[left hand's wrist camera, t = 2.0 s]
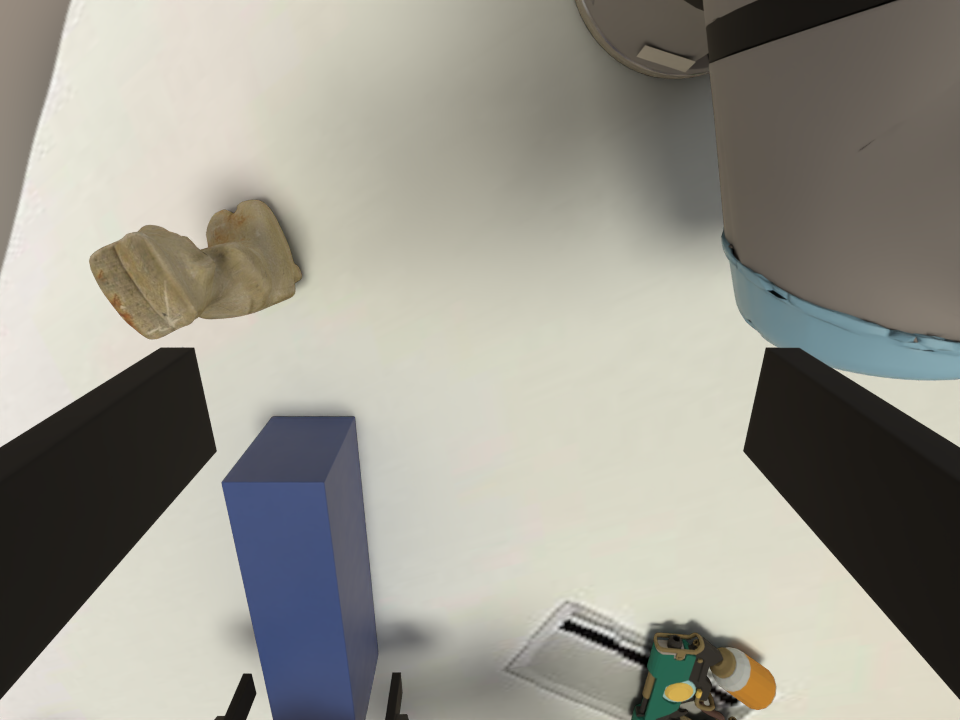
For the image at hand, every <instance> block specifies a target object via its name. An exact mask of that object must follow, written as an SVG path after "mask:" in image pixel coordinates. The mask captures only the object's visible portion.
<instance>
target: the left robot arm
mask: <svg viewBox="0 0 960 720" xmlns="http://www.w3.org/2000/svg"><path fill="white" fill-rule="evenodd" d="M575 2H576V5H577V7H578V10H579V12H580V15H581V17H582V19H583V20H584V22H585V24H586V26H587V28H588V29H589V31H590V32H591V34H592V35H593V37H594V38H595V39H596V41H597V42H598V43H599V44H600V45H601V47H602V48H603V49H604V50H606V51H607V52H608V53H609V54H610V55H611V56H612V57H613V58H615V59H616V60H617V61H619V62H620V63H622V64H623V65H625V66H627V67H628V68H630V69H633V70H635V71H637V72H639V73H642V74H645V75H648V76H653V77H658V78H667V79H683V78H690V77H696V76H700V75H704V74H707V73H710V81H711V91H712V101H713V110H714V120H715V132H716V143H717V154H718V165H719V177H720V188H721V199H722V210H723V222H724V229H723V233H722V236H721V238H722V246H723V250H724V252H725V254H726V257H727V258H728V259H729V262H730V268H731V275H732V281H733V288H734V294H735V300H736V304H737V306H738V309H739V311H740V313H741V315H742V316H743V318H744V319H745V321H746V322H747V323H748V324H749V325H750V326H752V327H753V328H754V329H755V330H757V331H758V332H759V333H760V334H761V336H762V337H763V338H764V339H765V340H767V341H768V342H770V343H771V344H773V345H775V346H777V347H778V348H766V349H765V354H764V358H763V363H762V368H761V372H760V377H759V381H758V386H757V391H756V395H755V400H754V404H753V409H752V413H751V418H750V423H749V427H748V432H747V436H746V441H745V445H744V450H743V451H744V453H745V454H746V455H747V456H748V457H749V458H750V460H751V461H752V462H753V463H754V464H755V465H756V466H757V468H758V469H759V470H760V471H761V472H762V473H763V474H764V476H765V477H766V478H767V479H768V480H769V481H770V482H771V484H772V485H773V486H774V487H775V488H776V489H777V490H778V492H779V493H780V494H781V495H782V496H783V497H784V499H785V500H786V501H787V502H788V503H789V504H790V505H791V507H792V508H793V509H794V510H795V511H796V512H797V513H798V515H799V516H800V517H801V518H802V519H803V520H804V521H805V523H806V524H807V525H808V526H809V527H810V528H811V530H812V531H813V532H814V533H815V534H816V535H817V536H818V538H819V539H820V540H821V541H822V542H823V543H824V544H825V546H826V547H827V548H828V549H829V550H830V551H831V552H832V554H833V555H834V556H835V557H836V558H837V559H838V560H839V562H840V563H841V564H842V565H843V566H844V567H845V569H846V570H847V571H848V572H849V573H850V574H851V575H852V577H853V578H854V579H855V580H856V581H857V582H858V583H859V585H860V586H861V587H862V588H863V589H864V590H865V591H866V593H867V594H868V595H869V596H870V597H871V598H872V600H873V601H874V602H875V603H876V604H877V605H878V606H879V608H880V609H881V610H882V611H883V612H884V613H885V614H886V616H887V617H888V618H889V619H890V620H891V621H892V622H893V624H894V625H895V626H896V627H897V628H898V629H899V631H900V632H901V633H902V634H903V635H904V636H905V637H906V639H907V640H908V641H909V642H910V643H911V644H912V645H913V647H914V648H915V649H916V650H917V651H918V652H919V653H920V655H921V656H922V657H923V658H924V659H925V660H926V661H927V663H928V664H929V665H930V666H931V667H932V668H933V670H934V671H935V672H936V673H937V674H938V675H939V676H940V678H941V679H942V680H943V681H944V682H945V683H946V684H947V686H948V687H949V688H950V689H951V690H952V691H953V692H954V694H955V695H956V696H957V697H958V698H959V699H960V447H958V446H957V445H955V444H953V443H952V442H950V441H949V440H947V439H945V438H944V437H942V436H940V435H939V434H937V433H936V432H934V431H932V430H931V429H929V428H928V427H926V426H924V425H923V424H921V423H920V422H918V421H916V420H915V419H913V418H912V417H910V416H908V415H907V414H905V413H904V412H902V411H900V410H899V409H897V408H895V407H894V406H892V405H891V404H889V403H887V402H886V401H884V400H883V399H881V398H879V397H878V396H876V395H875V394H873V393H871V392H870V391H868V390H867V389H865V388H863V387H862V386H860V385H858V384H857V383H855V382H854V381H852V380H850V379H849V378H847V377H846V376H844V375H842V374H841V373H839V372H838V371H836V370H834V369H833V368H835V369H839V370H844V371H848V372H853V373H858V374H864V375H870V376H877V377H885V378H894V379H906V380H957V379H960V0H575ZM216 451H217V450H216V445H215V441H214V436H213V432H212V427H211V423H210V418H209V413H208V409H207V404H206V400H205V395H204V391H203V386H202V381H201V377H200V372H199V368H198V363H197V358H196V354H195V349H194V348H159V349H158V350H156V351H155V352H153V353H151V354H150V355H148V356H147V357H145V358H143V359H142V360H140V361H138V362H137V363H135V364H134V365H132V366H130V367H129V368H127V369H126V370H124V371H122V372H121V373H119V374H118V375H116V376H114V377H113V378H111V379H110V380H108V381H106V382H105V383H103V384H102V385H100V386H98V387H97V388H95V389H93V390H92V391H90V392H89V393H87V394H85V395H84V396H82V397H81V398H79V399H77V400H76V401H74V402H73V403H71V404H69V405H68V406H66V407H65V408H63V409H61V410H60V411H58V412H56V413H55V414H53V415H52V416H50V417H48V418H47V419H45V420H44V421H42V422H40V423H39V424H37V425H36V426H34V427H32V428H31V429H29V430H28V431H26V432H24V433H23V434H21V435H20V436H18V437H16V438H15V439H13V440H11V441H10V442H8V443H7V444H5V445H3V446H2V447H0V699H1V698H2V697H3V696H4V695H5V694H6V692H7V691H8V690H9V689H10V688H11V687H12V686H13V684H14V683H15V682H16V681H17V680H18V679H19V678H20V676H21V675H22V674H23V673H24V672H25V671H26V670H27V668H28V667H29V666H30V665H31V664H32V663H33V661H34V660H35V659H36V658H37V657H38V656H39V655H40V653H41V652H42V651H43V650H44V649H45V648H46V647H47V645H48V644H49V643H50V642H51V641H52V640H53V639H54V637H55V636H56V635H57V634H58V633H59V632H60V630H61V629H62V628H63V627H64V626H65V625H66V624H67V622H68V621H69V620H70V619H71V618H72V617H73V616H74V614H75V613H76V612H77V611H78V610H79V609H80V608H81V606H82V605H83V604H84V603H85V602H86V601H87V600H88V598H89V597H90V596H91V595H92V594H93V593H94V591H95V590H96V589H97V588H98V587H99V586H100V585H101V583H102V582H103V581H104V580H105V579H106V578H107V577H108V575H109V574H110V573H111V572H112V571H113V570H114V569H115V567H116V566H117V565H118V564H119V563H120V562H121V560H122V559H123V558H124V557H125V556H126V555H127V554H128V552H129V551H130V550H131V549H132V548H133V547H134V546H135V544H136V543H137V542H138V541H139V540H140V539H141V538H142V536H143V535H144V534H145V533H146V532H147V531H148V530H149V528H150V527H151V526H152V525H153V524H154V523H155V521H156V520H157V519H158V518H159V517H160V516H161V515H162V513H163V512H164V511H165V510H166V509H167V508H168V507H169V505H170V504H171V503H172V502H173V501H174V500H175V499H176V497H177V496H178V495H179V494H180V493H181V492H182V490H183V489H184V488H185V487H186V486H187V485H188V484H189V482H190V481H191V480H192V479H193V478H194V477H195V476H196V474H197V473H198V472H199V471H200V470H201V469H202V468H203V466H204V465H205V464H206V463H207V462H208V461H209V460H210V458H211V457H212V456H213V455H214V454H215V453H216Z"/></svg>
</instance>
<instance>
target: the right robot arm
mask: <svg viewBox="0 0 960 720" xmlns="http://www.w3.org/2000/svg"><path fill="white" fill-rule="evenodd" d="M255 696H256V690H255V686H254V682H253V677H252V674H243V675H242V678H241V680H240V682H239V685H238V687H237V689H236V692H235V694H234V696H233V699H232V701H231V703H230V705H229V708H228V710H227V712H226V715H225V716H217V717H216V718H215V720H246V719H247V716H248V714H249V711H250V709H251V706H252V703H253V701H254V698H255ZM401 699H402V681H401V672H400V673H392V679H391V686H390V692H389V699H388V705H387V712H386V718H385V720H409V719H408V715H407V714H400V707H401Z"/></svg>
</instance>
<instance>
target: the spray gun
mask: <svg viewBox="0 0 960 720" xmlns="http://www.w3.org/2000/svg"><path fill="white" fill-rule="evenodd" d="M657 637H665V638H669V639H668V641H667V640H657ZM694 637H698V640H697V639H695V640H694V641H693V643H692V645H690V644H689V643H688V642H687V641H686V640H685V639H690V640H691V639H692V638H694ZM681 639H682V640H681ZM709 666H710V669H711V671H712V674H713V677H714V678H715V680H716V682H717V683H718V684H719V686H720V687H722V688H723V689H724V690H726V691H727V692H728V693H730V694H731V695H733V696H734V697H735V698H737V699H738V700H739V701H741V702H742V703H744V704H745V705H746V706H748V707H749V708H751V709H756V710H761V709H764V708H767V707H768V706H769V705H770V704H771V703H772V702H773V700H774V698H775V696H776V683H775V679H774V677H773V676H772V674H771V673H770V671H769V670H768V669H766V668H765V667H763V666H762V665H760V664H759V663H758V662H756V661H755V660H753V659H752V658H751V657H749V656H748V655H746V654H745V653H743V652H742V651H740V650H739V649H736V648H730V647H726V648H722V647H720V648H716V647H714V646H713V645H712V644H711V643H710V642H708V641H707V640H706V639H705V638H703V637H701V635H699V634H698V633H692V634H690V635H682V634H670V633H656V634H655V635H654V643H653V646H652V649H651V653H650V657H649V660H648V664H647V668H648V670H649V672H648V675H647V679H646V682H645V686H644V689H643V699H642V702H641V704H638V705H636V706H635V708H634V711H633V715H632V719H631V720H691V719H690V718H688V717H686V716H684V715H686V714H687V713H688V710H687V709H683V710H682V709H679V706H680V704H682V703H686V702H690V701H694V702H695V705H696V706H697V707H698V708H699V709H701V710H702V711H703V712H704V713H706V714H708V715H709V716H712V717H714V718H716V719H715V720H725V718H724V716H723V715H722V714H721V713H720V712H718V711H715V710H713V709H714V708H715V704H714V700H713V697H712V695H711V693H710V690H711V688H712V684H711V682H710V679H709V678H708V677H707V672H708V669H709ZM707 699H709V703H710V705H709V706H706V705H705V704H704V702H703V701H707ZM728 720H736V718H735V717H730V718H729V719H728Z"/></svg>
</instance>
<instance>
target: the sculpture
mask: <svg viewBox="0 0 960 720" xmlns="http://www.w3.org/2000/svg"><path fill="white" fill-rule="evenodd" d="M206 236H207V242H208V248H205V249H201V250H200V249H199V248H197V247H196V246H195V244H194V243H193V242H192V241H191V240H190V239H189V238H188V237H185V236H180V235H178V234H176V233H173V232H169V231H168V230H166V229H164V228H162V227H159V226H155V225H146V226H144V227H142V228H141V229H140V230H139V231H138V232H133V233H129V234H126V235H125V236H124V237H123V238H122V239H120V240H119V241H117V242H114V243H112V244H109V245H107V246H105V247H102V248H101V249H99V250H97V251H96V252H94V253H93V254H92V255H91V256H90V259H89V263H90V268H91V271H92V273H93V275H94V277H95V279H96V281H97V283H98V285H99V287H100V289H101V290H102V292H103V293H104V295H105V296H106V297H107V299H108V300H109V301H110V303H111V304H112V305H113V307H114V308H115V309H116V311H117V312H118V313H119V315H120V316H121V317H122V318H123V319H124V320H125V321H126V322H127V323H128V324H129V325H130V326H131V327H133V328H134V329H135V330H136V331H138V332H139V333H140V334H141V335H143V336H144V337H146V338H148V339H159V338H161V337H164V336H166V335H168V334H169V333H171V332H173V331H175V330H177V329H179V328H181V327H184V326H187V325H189V324H191V323H192V322H193V321H194V320H195V319H196V318H198V317H201V318H204V319H222V318H232V317H239V316H243V315H248V314H251V313H255V312H258V311H260V310H263V309H265V308H267V307H270V306H272V305H275V304H277V303H280V302H282V301H284V300H287V299H289V298H291V297H292V296H293V295H294V294H295V283H296V282H297V281H299V280H300V279H301V278H302V274H301V271H300V269H299V267H298V266H297V265H296V264H294V262H293V258H292V255H291V251H290V248H289V245H288V243H287V241H286V238H285V236H284V234H283V231H282V229H281V227H280V225H279V223H278V221H277V219H276V217H275V216H274V214H273V212H272V211H271V209H270V208H269V207H268V206H267V205H266V204H265V203H264V202H262V201H259V200H248V201H244V202H241V203H240V204H239V205H238V206H237V210H236V212H235V213H232V212H230V211H227V210H221V211H219V212H217V213H215V214H214V215H213V216H212V218H211V220H210V222H209V224H208V227H207V232H206Z"/></svg>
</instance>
